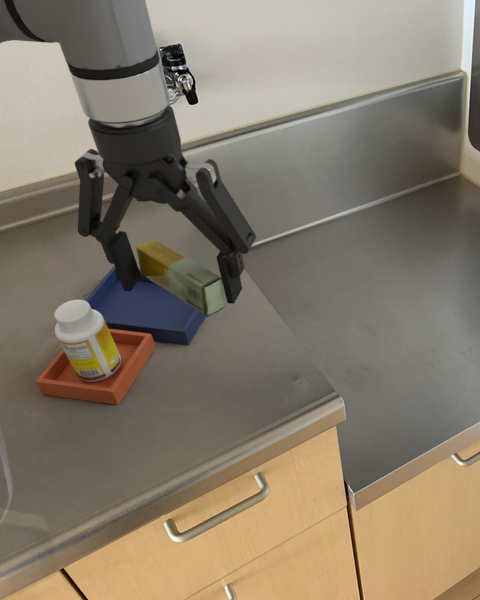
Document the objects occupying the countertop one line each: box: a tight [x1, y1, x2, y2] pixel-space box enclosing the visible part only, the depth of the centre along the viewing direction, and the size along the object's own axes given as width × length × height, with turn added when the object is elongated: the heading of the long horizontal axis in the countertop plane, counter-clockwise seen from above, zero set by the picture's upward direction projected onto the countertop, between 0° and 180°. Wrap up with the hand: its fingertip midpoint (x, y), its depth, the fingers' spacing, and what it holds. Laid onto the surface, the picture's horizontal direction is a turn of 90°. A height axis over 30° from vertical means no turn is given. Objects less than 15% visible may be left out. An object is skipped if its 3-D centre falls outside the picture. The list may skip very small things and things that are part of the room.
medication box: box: [135, 239, 226, 318], centre depth 69 cm, size 12×3×4 cm, turn 54°
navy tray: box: [84, 265, 207, 346], centre depth 88 cm, size 17×12×2 cm
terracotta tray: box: [35, 329, 157, 406], centre depth 79 cm, size 10×10×2 cm
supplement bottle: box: [53, 299, 121, 382], centre depth 76 cm, size 6×6×10 cm
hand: (183, 290), depth 71 cm, fingers closed on medication box, 12 cm apart
